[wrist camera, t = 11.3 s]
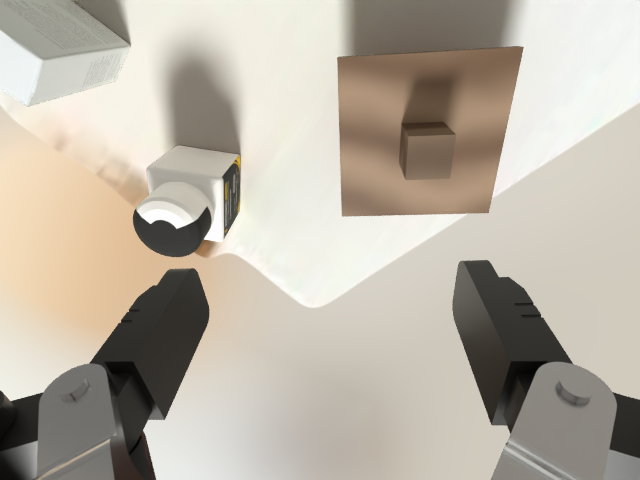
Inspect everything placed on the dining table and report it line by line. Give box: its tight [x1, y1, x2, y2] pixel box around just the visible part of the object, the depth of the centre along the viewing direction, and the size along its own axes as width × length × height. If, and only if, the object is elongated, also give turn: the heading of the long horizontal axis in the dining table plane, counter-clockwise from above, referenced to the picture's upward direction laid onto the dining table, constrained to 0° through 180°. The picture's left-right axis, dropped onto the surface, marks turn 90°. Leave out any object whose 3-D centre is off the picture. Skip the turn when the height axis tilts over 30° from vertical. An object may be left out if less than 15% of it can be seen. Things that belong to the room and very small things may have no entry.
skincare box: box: [0, 0, 131, 107], centre depth 29 cm, size 6×4×12 cm
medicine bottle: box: [133, 145, 241, 257], centre depth 35 cm, size 7×7×12 cm
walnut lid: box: [337, 46, 524, 216], centre depth 30 cm, size 14×14×5 cm
